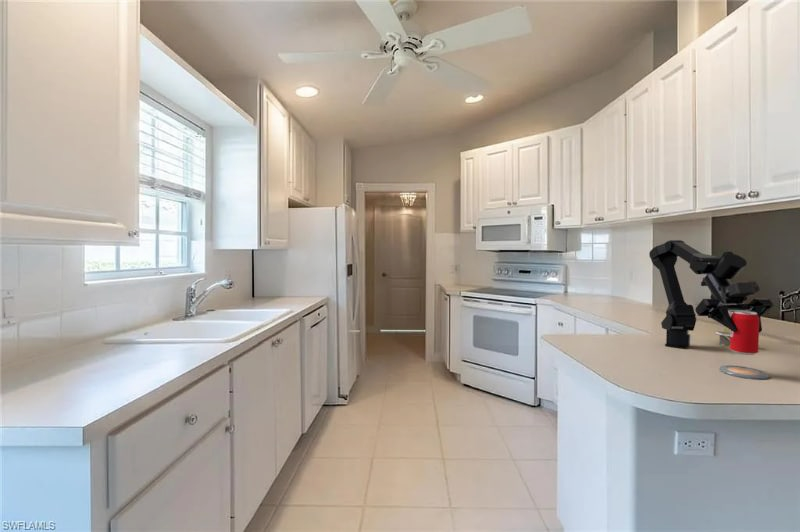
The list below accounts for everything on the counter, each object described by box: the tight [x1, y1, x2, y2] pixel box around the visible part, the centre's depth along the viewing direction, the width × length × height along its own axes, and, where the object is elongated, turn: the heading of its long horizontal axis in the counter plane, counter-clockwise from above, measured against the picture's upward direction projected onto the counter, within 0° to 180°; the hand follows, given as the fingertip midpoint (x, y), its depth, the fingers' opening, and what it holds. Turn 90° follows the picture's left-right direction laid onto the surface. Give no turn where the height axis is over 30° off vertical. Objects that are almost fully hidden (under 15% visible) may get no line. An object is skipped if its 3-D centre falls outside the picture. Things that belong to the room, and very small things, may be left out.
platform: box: [715, 328, 730, 346], centre depth 143 cm, size 12×18×7 cm, turn 40°
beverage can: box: [729, 311, 760, 356], centre depth 113 cm, size 6×6×12 cm
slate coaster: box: [718, 364, 770, 380], centre depth 114 cm, size 11×11×1 cm
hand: (748, 331), depth 112 cm, fingers closed on beverage can, 6 cm apart
